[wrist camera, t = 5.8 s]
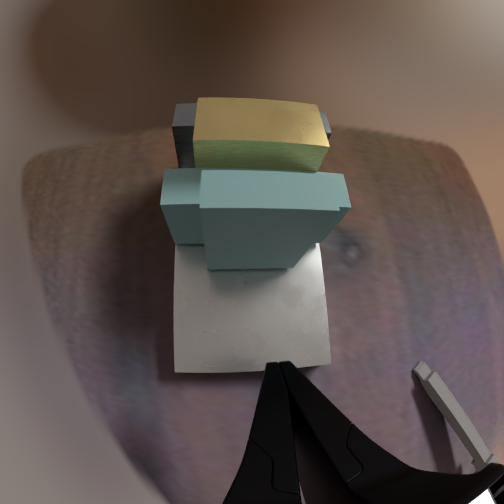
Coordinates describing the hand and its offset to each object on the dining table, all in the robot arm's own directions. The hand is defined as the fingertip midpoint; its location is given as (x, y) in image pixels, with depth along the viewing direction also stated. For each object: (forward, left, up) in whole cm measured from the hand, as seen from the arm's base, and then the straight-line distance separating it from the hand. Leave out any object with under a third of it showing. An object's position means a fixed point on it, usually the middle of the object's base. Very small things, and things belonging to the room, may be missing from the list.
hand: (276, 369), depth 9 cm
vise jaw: (+7, +1, -6) cm, 9 cm away
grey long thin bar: (-7, -20, -8) cm, 22 cm away
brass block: (+10, +2, -6) cm, 12 cm away
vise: (+7, +1, -8) cm, 10 cm away
